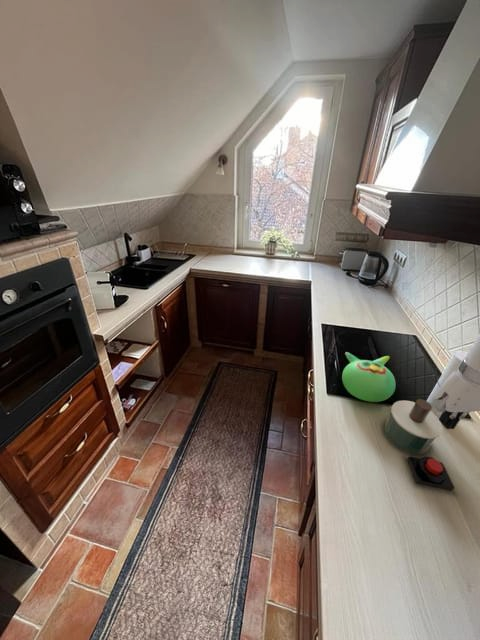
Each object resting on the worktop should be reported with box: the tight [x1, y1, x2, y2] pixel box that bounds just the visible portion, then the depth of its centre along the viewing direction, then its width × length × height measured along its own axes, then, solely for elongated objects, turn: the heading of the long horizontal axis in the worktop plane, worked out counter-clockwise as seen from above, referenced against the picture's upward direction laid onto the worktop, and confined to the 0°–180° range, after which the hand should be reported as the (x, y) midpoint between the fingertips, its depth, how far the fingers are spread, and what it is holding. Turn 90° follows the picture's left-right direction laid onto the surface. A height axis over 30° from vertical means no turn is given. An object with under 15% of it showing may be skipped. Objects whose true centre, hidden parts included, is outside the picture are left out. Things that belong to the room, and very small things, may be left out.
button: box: [425, 458, 443, 475], centre depth 70 cm, size 4×4×2 cm
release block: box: [406, 455, 455, 492], centre depth 71 cm, size 9×7×4 cm
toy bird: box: [341, 351, 397, 403], centre depth 95 cm, size 18×17×15 cm
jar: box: [384, 412, 437, 455], centre depth 81 cm, size 13×13×8 cm
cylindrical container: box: [426, 350, 469, 419], centre depth 85 cm, size 7×7×25 cm
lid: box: [390, 398, 444, 439], centre depth 77 cm, size 14×14×7 cm
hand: (445, 424), depth 67 cm, fingers closed
